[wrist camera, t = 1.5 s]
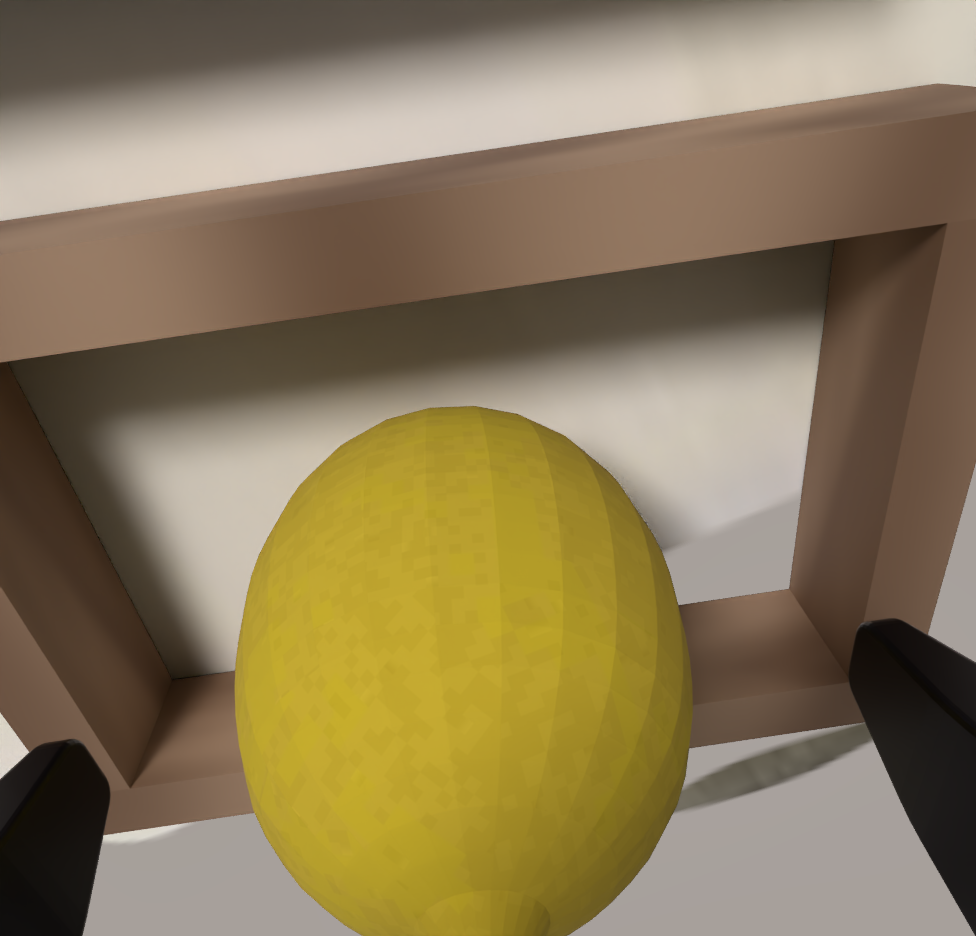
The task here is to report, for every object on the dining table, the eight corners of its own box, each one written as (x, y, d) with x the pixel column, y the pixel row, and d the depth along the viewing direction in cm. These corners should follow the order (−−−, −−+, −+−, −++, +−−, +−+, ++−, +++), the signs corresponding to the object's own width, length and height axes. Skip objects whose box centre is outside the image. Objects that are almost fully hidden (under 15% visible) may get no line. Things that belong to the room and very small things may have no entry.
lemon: (640, 532, 14) (854, 1021, 7) (381, 626, 14) (344, 1151, 8) (545, 271, 11) (748, 656, 4) (230, 403, 12) (-40, 917, 5)
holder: (938, 83, 10) (1078, 96, 8) (838, 622, 15) (904, 715, 13) (-147, 242, 10) (-303, 298, 8) (137, 726, 15) (91, 836, 13)
